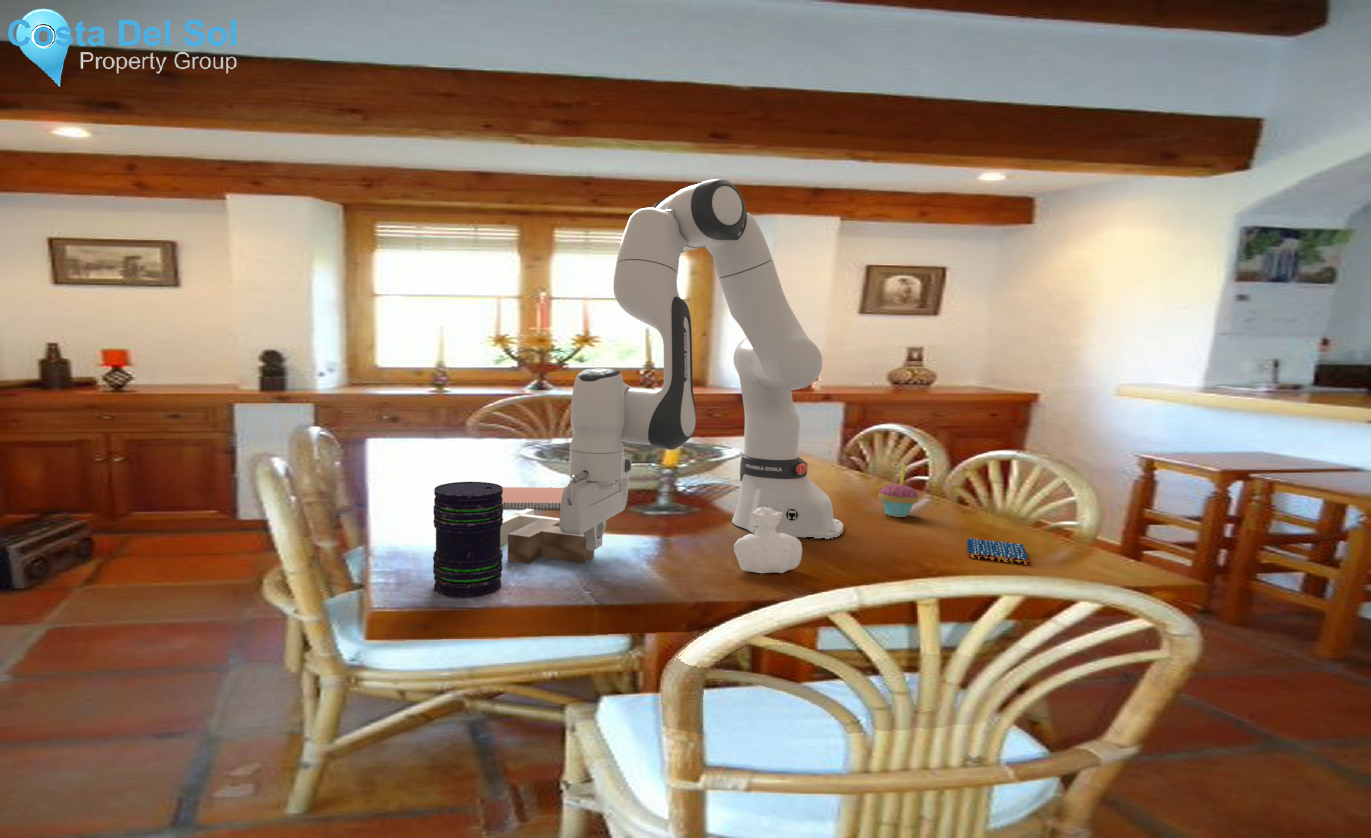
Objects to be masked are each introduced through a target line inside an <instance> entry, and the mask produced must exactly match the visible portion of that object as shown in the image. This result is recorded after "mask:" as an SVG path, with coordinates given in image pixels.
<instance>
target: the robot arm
mask: <svg viewBox="0 0 1371 838" xmlns="http://www.w3.org/2000/svg"><path fill="white" fill-rule="evenodd" d="M702 248H705V249H707V251H708V252H709V253H710V255H711V256H712V258H713V263H714V267H715V270H716V273H717V277H718V280H719V283H720V286H721V289H722V292H723V295H724V299H725V301H726V304H727V307H728V310H729V312H730V315H731V316H732V318H733V319H734V321H735V322H736V323H737V324H738V325H739V327H740V328H741V330H742V332H743V334H744V335H745V337H746V338H744V339H742V340H741V341H740V342H739V343H738V344H737V345H736V347H735V350H734V352H733V365H734V368H735V370H736V372H737V374H738V378H739V383H740V390H741V396H742V404H743V409H744V410H743V411H744V436H743V453H742V454H741V455H740V458H741V459H740V463H739V481H740V486H739V487H740V488H739V489H740V490H739V492H738V493H739V494H738V498H737V499H738V500H737V504H736V508H735V512H734V515H733V517H732V519H731V522H732V523H733V525H735V526H737V527H739V528H742V529H745V530H747V531H749V532H750V533H751V534H755V531H756V530H757V527H758V525H754V526H753V525H752V524H753V518H751V517H750V513H752V512H754V511H755V510H756V509H757V508H760V507H761V508H762V507H767V508H770V507H771V509H773V510H774V511H777V512H783V515H782V516H781V517H782V518H781V519H779V524H777V525H776V528H775V531H776V532H777V533H784V534H788V535H790V536H792V537H796V538H806V537H814V538H813V539H821V538H825V539H824V540H830V538H831V539H834V538H833V537H835V538H837V537H839V536H841V535H842V534H843V532H844V524H843V522H842V521H841V520H839V519H837V518H834V512H833V510H834V509H833V505H832V500H831V498H830V496H829V495H828V494H827V493H825V492H824V491H823V490H822V489H821V488H819V486H817V484H815V483H814V482H813V481H812V480H811V479H809V478H808V477H807V475H808V460H803V459H802V458H800V457H799V444H800V443H799V442H800V424H801V420H800V416H799V413H798V412H797V409H796V408H795V405H794V400H793V395H792V391H795V390H800V389H804V388H807V387H809V386H811V385H812V384H814V383H815V381H817V379H818V378H819V377H820V374H821V371H822V370H823V369H822V368H823V357H822V354H821V351H820V349H819V347H818V346H817V345H816V344H815V343H814V341H812V340H811V339H810V338H809V336H808V335H807V334H806V332H805V331H804V329H803V327H802V326H801V323H800V322H799V320H798V318H797V317H796V315H795V313H794V312H793V310H792V307H791V306H790V304H789V301H788V300H787V298H786V296H785V293H784V290H783V287H782V284H781V281H780V278H779V275H778V272H777V269H776V265H775V262H774V260H773V257H772V253H771V251H770V247H769V246H768V243H767V241H766V238H765V236H764V234H763V232H762V230H761V228H760V225H759V224H758V222H757V221H756V218H755V217H754V216H753V215H752V214H751V213H749V212H747V207H746V204H745V201H744V199H743V197H742V195H741V193H740V192H739V189H737V187H736V186H734V184H732V183H731V182H730V181H728V180H726V179H720V178H718V179H717V178H714V179H706V180H703V181H702V182H700V183H697V184H696V183H695V184H691V185H689V186H686V187H684V188H681V189H679V190H678V191H677V192H674V193H673V194H671V195H669V196H667V197H665V198H662V199H660V200H659V201H658V202H656V203H654V205H653V206H652V207H644V208H640V209H638V210H635V212H633V213H632V215H630V217H629V219H628V220H627V223H626V226H625V229H624V232H623V235H622V238H621V242H620V245H619V249H618V253H617V259H616V264H615V271H614V276H613V294H614V297H615V300H616V301H617V303H618V305H619V306H620V307H621V309H622V310H624V311H625V312H626V313H627V314H628V315H629V316H631V317H633V318H634V319H636V320H638V321H640V322H642V323H644V324H646V325H648V326H651V327H652V328H654V329H655V330H657V332H659V334H660V336H661V339H662V343H663V384H662V386H661V388H658V389H655V388H644V387H643V388H642V387H635V386H630V385H628V384H627V383H626V382H624V379H623V375H622V371H620V370H619V369H615V368H614V367H613V368H612V367H596V368H595V367H594V368H588V369H584V370H582V371H580V372H579V373H578V374H577V375H576V377H575V380H574V384H573V388H572V394H571V395H572V396H571V405H570V425H571V426H570V427H571V430H572V437H571V440H570V444H569V461H568V462H569V466H568V467H569V468H568V469H569V471H568V476H569V478H570V480H569V483H568V484H566V486H564V487H563V488H564V490H563V493H562V499H561V508H559V518H560V521H559V526H560V529H561V532H562V533H566V534H574V535H580V534H582V533H583V534H584V537H585V539H586V549H587V550H592V551H594V552H595V551H596V550H597V549H598V548H600V547H602V546H603V537H604V533H605V530H606V528H607V527H606V526H607V520H610V519H611V518H612V517H614V516H616V515H618V514H619V513H621V512H623V511H624V510H625V508H626V506H627V503H628V497H629V496H628V494H629V485H630V484H629V483H630V480H629V479H630V476H629V472H631V471H632V466H633V465H632V464H633V462H632V459H631V458H629V457H627V456H625V455H624V451H625V449H624V443H623V442H625V443H629V444H638V445H645V446H646V445H648V446H651V447H652V446H653V447H655V448H660V449H665V450H668V451H669V450H670V451H674V450H676V449H678V448H680V447H681V446H683V445H685V443H687V442H688V441H689V440H690V439H691V437H692V436H693V435H694V433H695V430H696V424H697V414H696V404H695V397H694V387H693V386H694V382H693V380H694V379H693V338H692V337H693V336H692V335H693V334H692V319H691V312H690V309H689V306H688V304H687V302H686V301H685V300H684V299H682V298H681V297H680V295H679V292H678V291H679V290H678V284H677V283H678V274H679V264H680V256H681V254H682V253H684V252H688V251H693V250H698V249H702ZM840 534H841V535H840Z"/></svg>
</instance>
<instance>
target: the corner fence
mask: <svg viewBox="0 0 1371 838" xmlns="http://www.w3.org/2000/svg"><path fill="white" fill-rule="evenodd" d="M541 518H544V519H552V520H560V517H552V516H543V515H535V508H534V509H533V508H531V509H530V508H527V509H526V508H524V509H522V510H520V511H518V512H516V513H513V514H511V515H508V516H506V517H503V523H502V526H501V533H500V547H501V546H503V545H506V544H508V534H509V533H512V532H514V531H516V530H518V529H520V528H522V527H524V526H526V525H528V524H531V523H533V522H535V521H537V520H539V519H541Z"/></svg>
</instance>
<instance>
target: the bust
mask: <svg viewBox="0 0 1371 838" xmlns="http://www.w3.org/2000/svg"><path fill="white" fill-rule="evenodd" d="M782 515H783V512H777V511H774V510H773V509H771V507H770V508H767V507H762V508H761V507H760V508H757V509H756V510H755V511H754V512H752V513H750V517H751V518H753V524H752V525H753V526H754V525H758V527H757V530H756V531H755V534H754V533H748V534H746V535H744V536H742V537H740V538H738V539H737V540H736V542H735V543H734V544H733V551H734V555H735V556H736V559H737V562H738V565H739V567H740V569H741V570H742V571H745V572H748V573H750V572H751V573H756V574H758V573H764V574H772V573H773V574H774V573H779V574H783V573H785V572H788V571H791V570H795V569H796V568H798V566H799V565H800V563H801V561H802V557H803V556H802V553H803V546H802V542H801V541H800V539H798V537H792V536H790V535H788V534H784V533H777V532H776V531H775V528H776V525H777V524H779V519H781V518H782V517H781V516H782Z"/></svg>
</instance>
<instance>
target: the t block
mask: <svg viewBox="0 0 1371 838" xmlns="http://www.w3.org/2000/svg"><path fill="white" fill-rule="evenodd" d="M559 521H560V520H552V519H544V518H541V519H539V520H537V521H535V522H533V523H531V524H528V525H526V526H524V527H522V528H520V529H518V530H516V531H514V532H512V533H509V534H508V543H507V561H508V562H515V563H521V564H528V565H529V564H531V563H533V562H535V561H537V560H538V559H541V558H544V559H550V560H559V561H565V562H574V563H580V564H586V562H589V561H590V560H592V559H593V558H594V557H595V550H594V551H592V550H587V549H586V539H585V537H584V534H583V533H582V534H580V535H574V534H566V533H562V532H561V529H560V526H559Z"/></svg>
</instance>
